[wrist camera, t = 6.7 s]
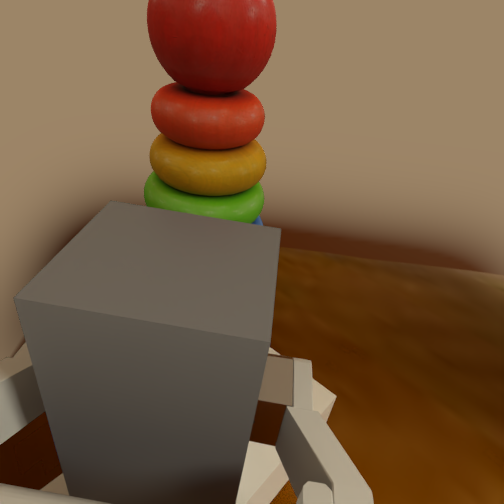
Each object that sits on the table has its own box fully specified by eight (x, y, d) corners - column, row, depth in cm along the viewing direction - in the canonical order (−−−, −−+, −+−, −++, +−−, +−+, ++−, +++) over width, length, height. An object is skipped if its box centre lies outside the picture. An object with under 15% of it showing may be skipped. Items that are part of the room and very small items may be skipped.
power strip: (243, 378, 21) (251, 330, 19) (318, 441, 18) (337, 393, 16) (36, 553, 14) (13, 505, 12) (115, 697, 11) (104, 668, 9)
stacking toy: (148, 277, 27) (137, -54, 17) (258, 285, 28) (311, -26, 18) (120, 365, 21) (76, -88, 10) (265, 373, 21) (355, -42, 11)
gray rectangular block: (219, 579, 13) (270, 342, 6) (86, 554, 13) (13, 297, 7) (236, 459, 16) (281, 228, 10) (131, 440, 16) (111, 200, 10)
